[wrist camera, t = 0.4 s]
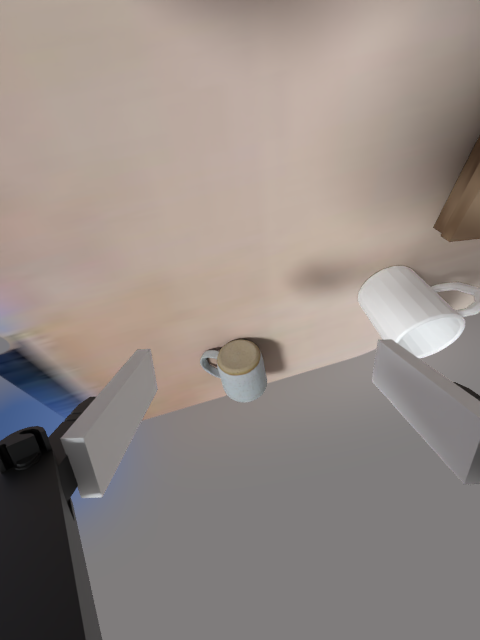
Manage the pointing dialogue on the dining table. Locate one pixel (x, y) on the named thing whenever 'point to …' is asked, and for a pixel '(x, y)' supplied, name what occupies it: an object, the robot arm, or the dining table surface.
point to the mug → (414, 310)
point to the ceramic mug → (238, 369)
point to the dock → (463, 203)
